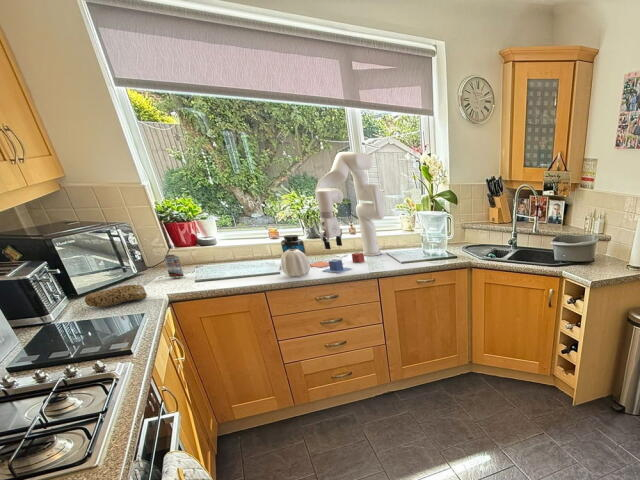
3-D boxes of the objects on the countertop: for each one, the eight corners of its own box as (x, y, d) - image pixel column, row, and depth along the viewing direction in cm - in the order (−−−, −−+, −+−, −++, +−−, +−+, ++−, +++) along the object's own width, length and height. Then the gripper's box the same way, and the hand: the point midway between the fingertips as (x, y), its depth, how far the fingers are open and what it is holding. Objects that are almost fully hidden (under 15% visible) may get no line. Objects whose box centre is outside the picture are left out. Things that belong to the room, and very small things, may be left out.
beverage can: (169, 279, 211) (160, 256, 206) (171, 276, 217) (163, 253, 211) (184, 278, 214) (175, 255, 208) (186, 275, 220) (177, 252, 214)
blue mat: (335, 267, 243) (335, 266, 242) (351, 269, 240) (351, 268, 240) (322, 271, 233) (322, 270, 233) (338, 273, 231) (338, 272, 230)
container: (305, 266, 243) (299, 237, 235) (283, 266, 241) (276, 237, 233) (309, 261, 253) (303, 234, 246) (288, 262, 251) (282, 234, 243)
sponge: (145, 298, 189) (83, 297, 175) (143, 281, 186) (79, 280, 171) (150, 310, 182) (86, 310, 168) (148, 293, 179) (83, 292, 164)
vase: (284, 279, 217) (277, 253, 211) (284, 273, 228) (278, 248, 222) (312, 277, 223) (306, 251, 216) (311, 271, 234) (306, 246, 227)
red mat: (319, 262, 253) (319, 261, 253) (334, 263, 250) (334, 263, 250) (306, 266, 244) (306, 265, 243) (322, 267, 241) (322, 266, 241)
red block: (357, 260, 259) (356, 252, 257) (364, 261, 258) (363, 253, 255) (352, 262, 255) (351, 253, 252) (359, 262, 254) (358, 254, 251)
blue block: (336, 268, 239) (334, 259, 237) (343, 268, 238) (341, 260, 235) (330, 269, 235) (328, 261, 232) (337, 270, 234) (335, 261, 231)
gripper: (322, 217, 215) (329, 251, 223) (343, 213, 229) (349, 244, 237) (310, 216, 217) (317, 249, 225) (332, 212, 231) (338, 243, 239)
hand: (333, 247), depth 231 cm, fingers open, 9 cm apart
